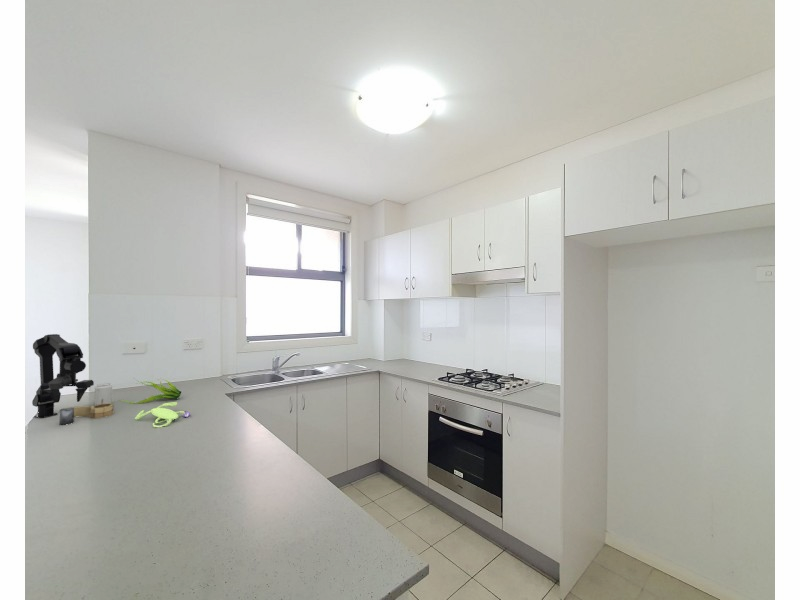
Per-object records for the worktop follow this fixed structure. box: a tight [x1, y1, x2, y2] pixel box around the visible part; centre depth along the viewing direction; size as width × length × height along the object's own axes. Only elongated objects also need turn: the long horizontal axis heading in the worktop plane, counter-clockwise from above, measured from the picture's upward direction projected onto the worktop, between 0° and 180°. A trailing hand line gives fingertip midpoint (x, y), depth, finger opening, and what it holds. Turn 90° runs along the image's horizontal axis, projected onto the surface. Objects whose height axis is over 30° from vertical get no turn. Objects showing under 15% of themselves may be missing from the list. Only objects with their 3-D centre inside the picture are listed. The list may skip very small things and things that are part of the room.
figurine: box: [134, 401, 191, 428], centre depth 167 cm, size 18×27×6 cm
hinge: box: [67, 399, 115, 419], centre depth 171 cm, size 18×16×5 cm
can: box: [93, 382, 113, 406], centre depth 187 cm, size 8×8×12 cm
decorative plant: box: [111, 377, 182, 404], centre depth 193 cm, size 18×30×15 cm, turn 89°
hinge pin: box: [58, 406, 75, 426], centre depth 158 cm, size 5×5×7 cm
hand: (67, 402), depth 159 cm, fingers open, 9 cm apart
